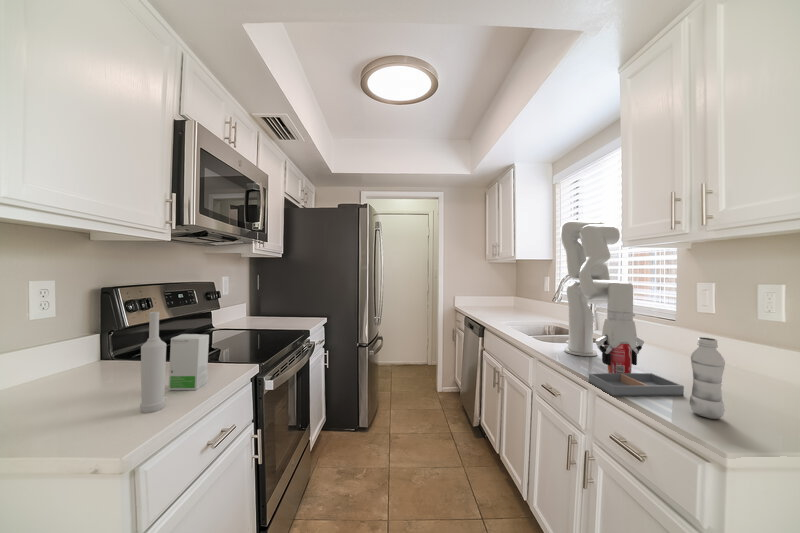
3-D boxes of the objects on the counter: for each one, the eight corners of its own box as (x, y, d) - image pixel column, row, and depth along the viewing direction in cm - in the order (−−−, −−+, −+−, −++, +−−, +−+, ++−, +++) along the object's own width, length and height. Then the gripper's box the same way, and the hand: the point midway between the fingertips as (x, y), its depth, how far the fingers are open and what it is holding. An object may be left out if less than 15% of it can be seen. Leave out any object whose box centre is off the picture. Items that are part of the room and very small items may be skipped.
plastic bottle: (716, 413, 82) (717, 337, 82) (730, 425, 76) (731, 343, 76) (684, 408, 85) (685, 335, 85) (696, 419, 78) (697, 340, 78)
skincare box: (167, 391, 92) (168, 338, 92) (180, 382, 98) (181, 333, 98) (197, 390, 93) (198, 338, 93) (208, 382, 99) (209, 333, 99)
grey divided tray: (588, 382, 103) (588, 373, 103) (651, 382, 104) (651, 373, 104) (613, 396, 92) (613, 386, 92) (683, 396, 93) (683, 386, 93)
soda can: (623, 371, 114) (624, 339, 114) (636, 378, 107) (636, 343, 107) (603, 370, 115) (603, 338, 115) (614, 377, 108) (614, 343, 108)
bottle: (140, 407, 81) (142, 311, 81) (165, 402, 84) (166, 310, 84) (139, 415, 77) (140, 314, 77) (165, 409, 80) (166, 312, 80)
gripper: (634, 314, 115) (634, 360, 115) (589, 314, 115) (589, 361, 114) (652, 318, 108) (651, 367, 108) (604, 317, 107) (603, 367, 107)
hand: (619, 364), depth 111 cm, fingers open, 9 cm apart
